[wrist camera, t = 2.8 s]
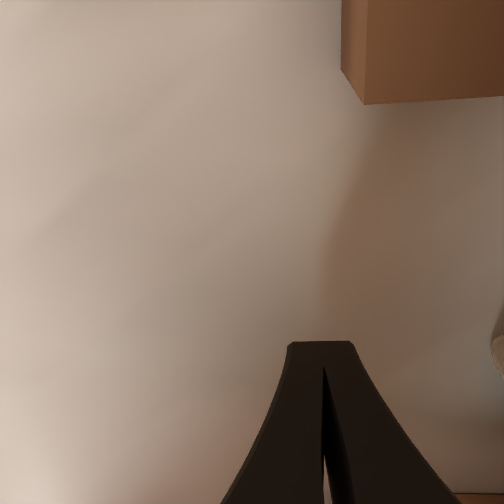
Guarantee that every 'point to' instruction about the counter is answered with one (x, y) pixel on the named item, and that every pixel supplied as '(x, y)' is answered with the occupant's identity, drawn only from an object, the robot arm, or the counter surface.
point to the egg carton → (498, 353)
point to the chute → (424, 61)
